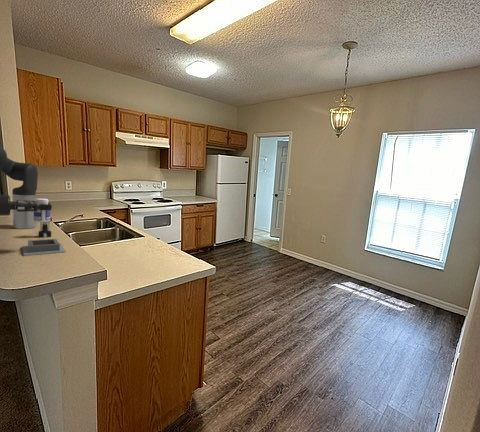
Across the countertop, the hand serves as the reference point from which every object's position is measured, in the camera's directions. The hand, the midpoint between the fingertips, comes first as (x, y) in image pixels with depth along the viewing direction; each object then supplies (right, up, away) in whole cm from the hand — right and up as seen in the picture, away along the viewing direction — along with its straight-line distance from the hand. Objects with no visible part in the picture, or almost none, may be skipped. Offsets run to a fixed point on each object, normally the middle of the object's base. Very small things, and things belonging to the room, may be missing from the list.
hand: (50, 206), depth 105 cm
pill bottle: (-3, -6, -1) cm, 7 cm away
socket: (-3, -18, +1) cm, 18 cm away
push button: (-17, -14, +18) cm, 29 cm away
